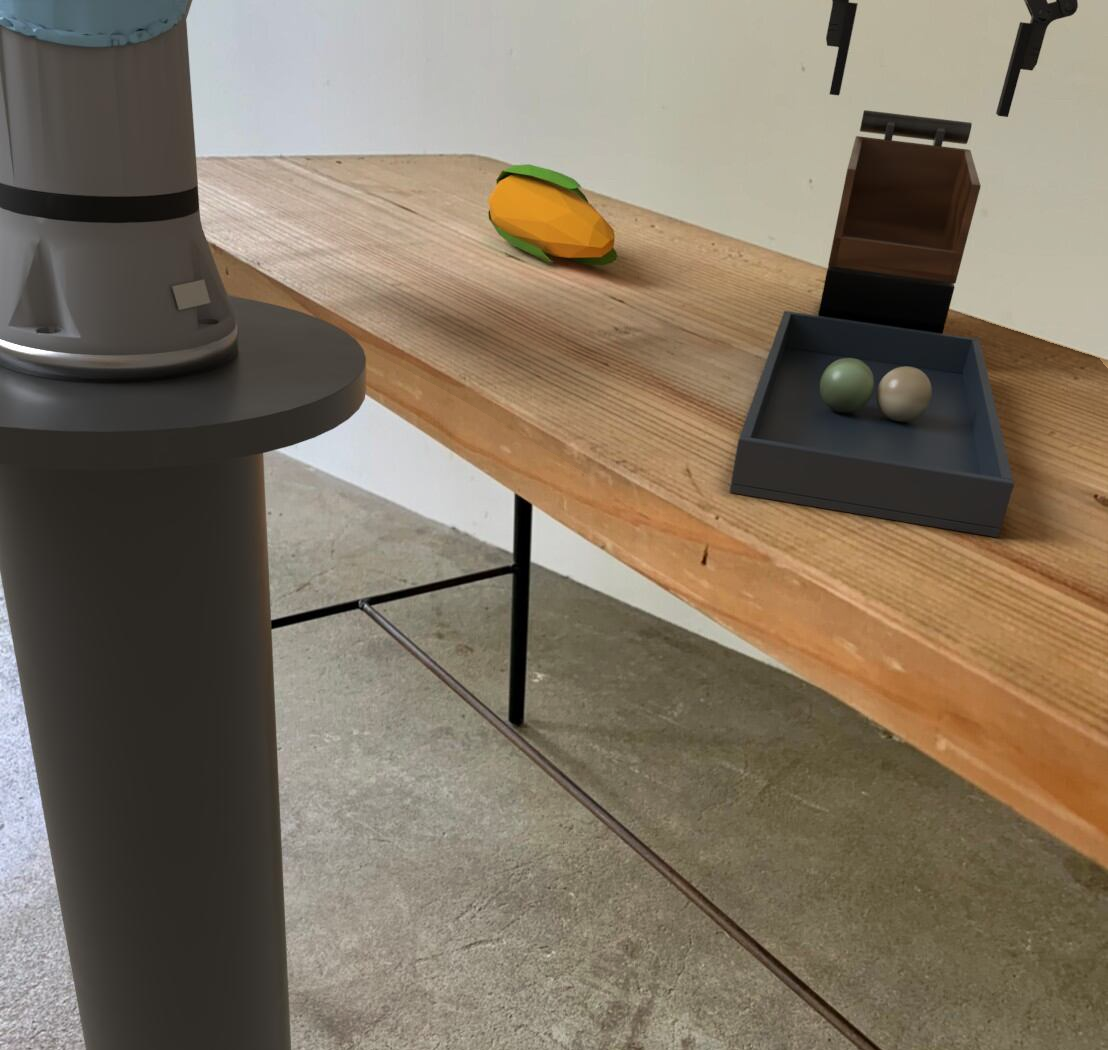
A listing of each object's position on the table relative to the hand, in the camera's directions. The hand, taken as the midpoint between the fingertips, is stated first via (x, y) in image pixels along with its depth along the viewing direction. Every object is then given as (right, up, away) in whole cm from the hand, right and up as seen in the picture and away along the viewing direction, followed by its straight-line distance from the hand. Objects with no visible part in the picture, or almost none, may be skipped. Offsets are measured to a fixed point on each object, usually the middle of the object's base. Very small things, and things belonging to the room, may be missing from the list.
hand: (917, 105), depth 99 cm
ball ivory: (-8, -30, -23) cm, 39 cm away
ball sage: (-11, -30, -22) cm, 39 cm away
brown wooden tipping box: (-3, -13, -3) cm, 13 cm away
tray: (-10, -32, -22) cm, 40 cm away
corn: (-30, -8, +13) cm, 34 cm away
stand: (-4, -19, -1) cm, 20 cm away
